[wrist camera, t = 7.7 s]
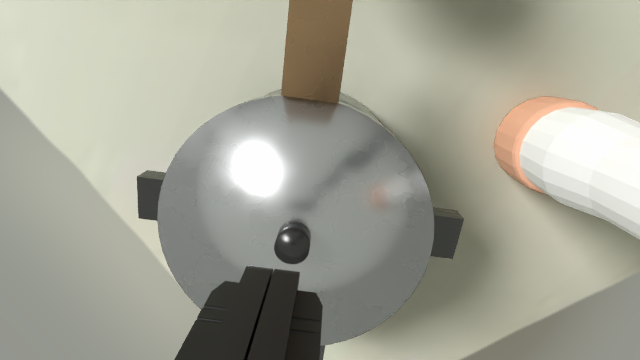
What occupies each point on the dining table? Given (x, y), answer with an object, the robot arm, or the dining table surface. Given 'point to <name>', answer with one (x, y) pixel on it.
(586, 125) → the pepper shaker
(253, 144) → the cooker lid
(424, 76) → the dining table surface
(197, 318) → the robot arm
